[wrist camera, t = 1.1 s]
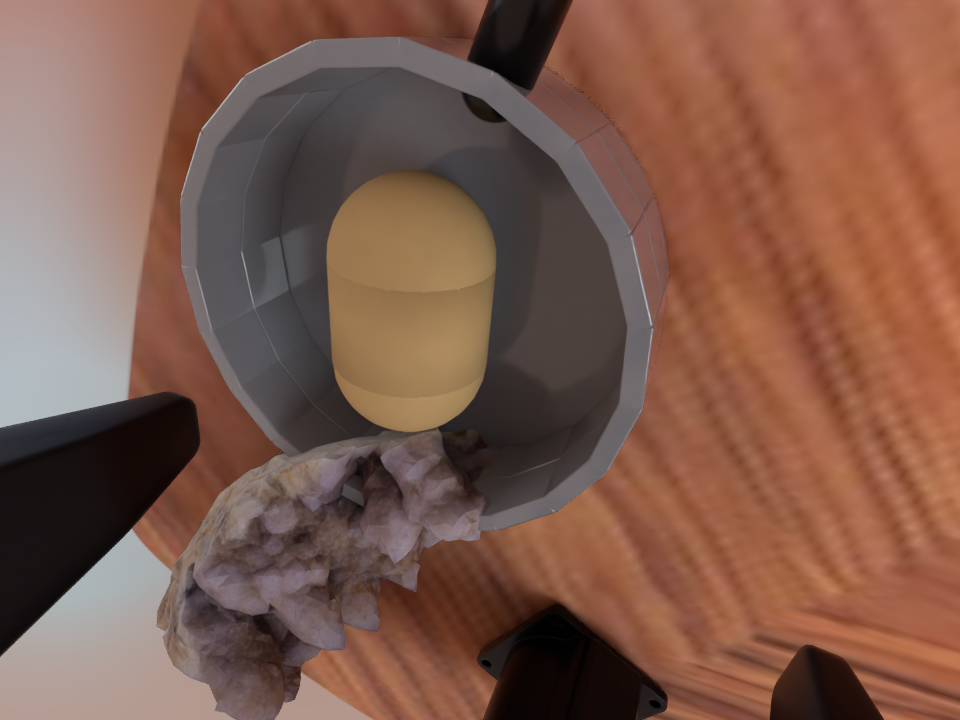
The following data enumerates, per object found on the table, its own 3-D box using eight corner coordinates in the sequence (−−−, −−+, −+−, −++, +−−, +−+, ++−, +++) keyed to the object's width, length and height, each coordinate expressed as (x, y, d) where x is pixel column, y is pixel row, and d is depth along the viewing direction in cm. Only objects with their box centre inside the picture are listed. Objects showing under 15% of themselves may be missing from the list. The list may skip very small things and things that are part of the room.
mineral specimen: (238, 333, 17) (221, 740, 12) (519, 375, 22) (584, 668, 17) (150, 533, 31) (126, 754, 26) (332, 529, 36) (340, 713, 32)
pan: (496, 510, 24) (452, 594, 20) (231, 287, 24) (138, 332, 20) (781, 261, 16) (795, 326, 12) (382, -77, 16) (272, -117, 12)
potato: (500, 400, 21) (445, 483, 17) (382, 367, 22) (305, 436, 18) (527, 170, 17) (462, 208, 13) (380, 147, 18) (281, 174, 14)
